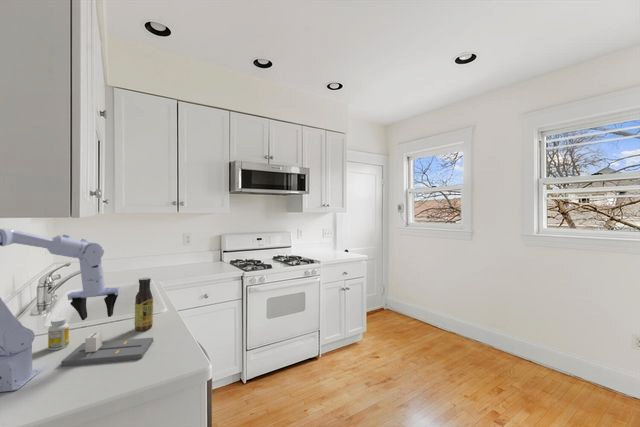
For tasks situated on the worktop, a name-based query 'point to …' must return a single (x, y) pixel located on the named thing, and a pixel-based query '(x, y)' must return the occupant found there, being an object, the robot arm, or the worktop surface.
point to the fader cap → (93, 342)
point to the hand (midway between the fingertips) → (97, 317)
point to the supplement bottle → (58, 334)
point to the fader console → (110, 352)
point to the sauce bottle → (144, 306)
